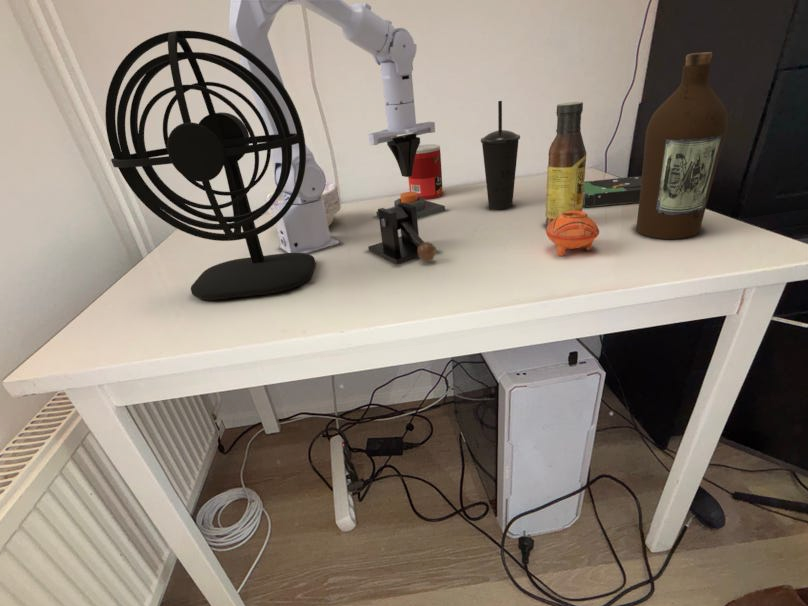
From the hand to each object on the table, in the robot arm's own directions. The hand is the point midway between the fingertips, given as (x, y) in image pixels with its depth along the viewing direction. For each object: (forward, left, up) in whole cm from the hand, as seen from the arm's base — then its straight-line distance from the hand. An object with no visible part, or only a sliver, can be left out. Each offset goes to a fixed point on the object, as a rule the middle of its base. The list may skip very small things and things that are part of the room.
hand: (406, 175), depth 101 cm
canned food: (+11, +10, -8) cm, 17 cm away
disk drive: (+33, -26, -8) cm, 43 cm away
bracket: (-14, -19, -8) cm, 25 cm away
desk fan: (-39, -12, -8) cm, 42 cm away
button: (0, 0, -5) cm, 5 cm away
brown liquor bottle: (+22, -45, -8) cm, 51 cm away
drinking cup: (+15, -12, -8) cm, 21 cm away
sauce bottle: (+14, -30, -8) cm, 34 cm away
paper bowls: (-20, +10, -8) cm, 24 cm away
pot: (+5, -40, -8) cm, 41 cm away
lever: (-14, -22, -5) cm, 27 cm away
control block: (0, 0, -8) cm, 8 cm away
